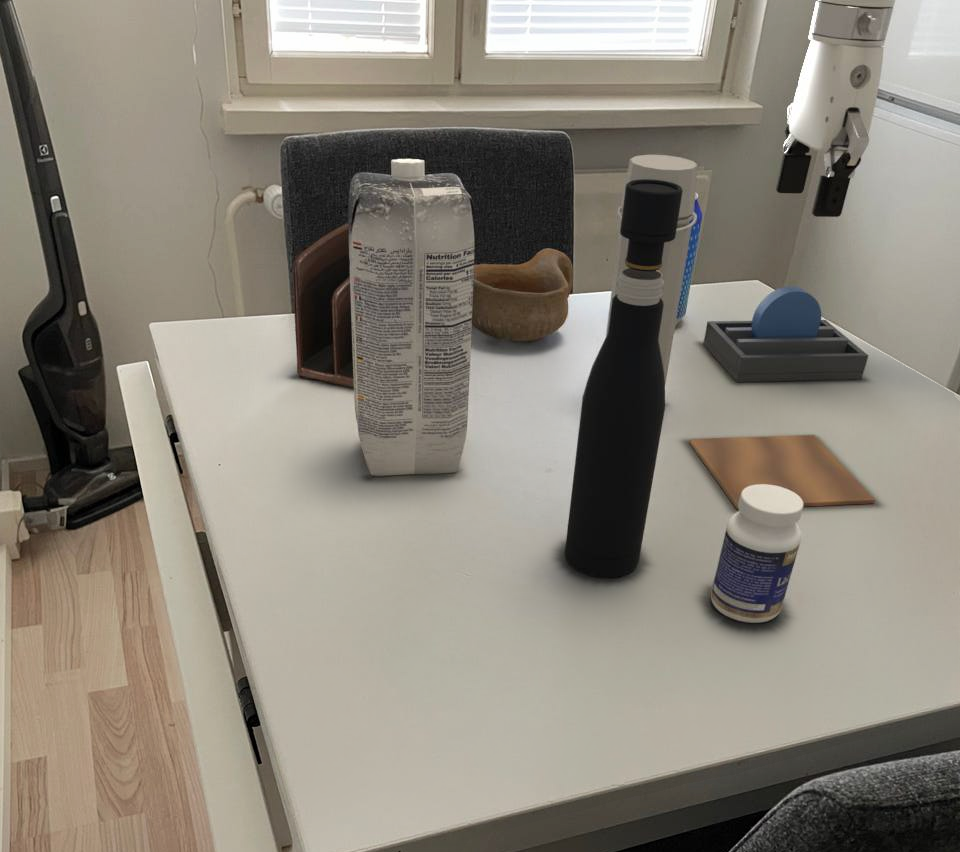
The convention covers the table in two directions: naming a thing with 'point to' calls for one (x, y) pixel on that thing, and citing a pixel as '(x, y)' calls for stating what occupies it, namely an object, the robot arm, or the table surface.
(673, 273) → the water bottle
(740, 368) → the dish rack
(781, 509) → the pill bottle
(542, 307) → the bowl
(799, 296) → the blue lid
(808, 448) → the brown square board
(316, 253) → the letter holder
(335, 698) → the table surface
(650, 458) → the wine bottle
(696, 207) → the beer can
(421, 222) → the juice carton
